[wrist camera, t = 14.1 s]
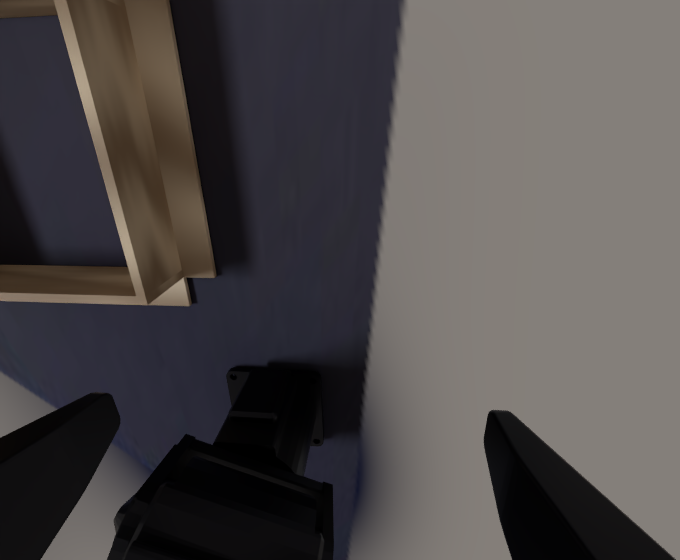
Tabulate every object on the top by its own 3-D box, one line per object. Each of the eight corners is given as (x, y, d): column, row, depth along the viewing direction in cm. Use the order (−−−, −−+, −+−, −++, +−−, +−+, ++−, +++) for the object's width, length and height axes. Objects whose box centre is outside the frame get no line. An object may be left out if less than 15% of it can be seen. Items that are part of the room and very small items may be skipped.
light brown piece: (221, 304, 22) (191, 339, 19) (-30, 297, 24) (-102, 328, 21) (158, -62, 15) (89, -121, 12) (-192, -35, 17) (-347, -79, 13)
